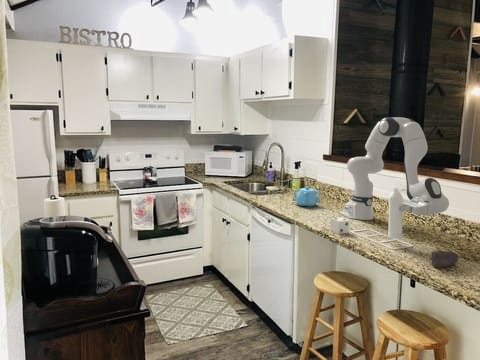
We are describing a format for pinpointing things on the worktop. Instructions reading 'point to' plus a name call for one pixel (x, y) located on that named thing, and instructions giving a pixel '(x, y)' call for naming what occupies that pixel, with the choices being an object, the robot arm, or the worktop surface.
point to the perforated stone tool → (443, 258)
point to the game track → (381, 241)
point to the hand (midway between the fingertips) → (395, 206)
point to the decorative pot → (306, 197)
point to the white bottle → (395, 214)
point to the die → (339, 225)
